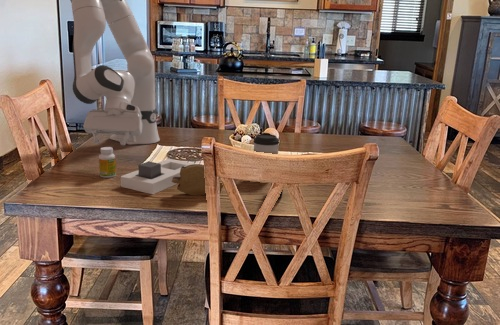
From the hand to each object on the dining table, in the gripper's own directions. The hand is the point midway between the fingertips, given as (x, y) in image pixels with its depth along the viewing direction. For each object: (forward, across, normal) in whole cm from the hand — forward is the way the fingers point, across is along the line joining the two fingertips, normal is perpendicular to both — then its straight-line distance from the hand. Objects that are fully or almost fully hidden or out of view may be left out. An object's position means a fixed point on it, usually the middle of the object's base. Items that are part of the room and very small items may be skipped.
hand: (109, 143), depth 167 cm
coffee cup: (+6, +55, +7) cm, 56 cm away
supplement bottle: (+11, +1, +3) cm, 12 cm away
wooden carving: (+21, +34, -7) cm, 41 cm away
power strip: (+12, +20, +1) cm, 24 cm away
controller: (+19, +59, -6) cm, 62 cm away
